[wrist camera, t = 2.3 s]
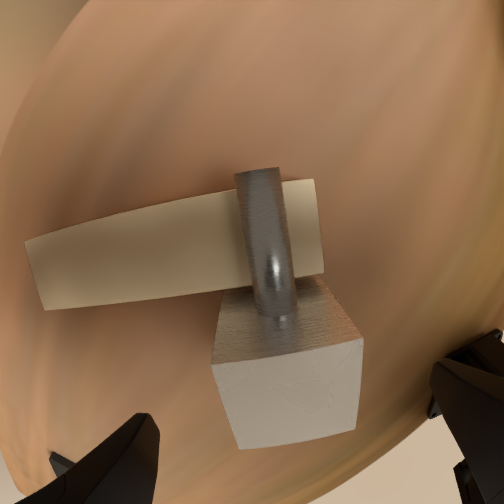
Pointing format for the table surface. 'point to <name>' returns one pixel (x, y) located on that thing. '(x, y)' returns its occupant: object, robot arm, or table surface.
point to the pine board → (165, 250)
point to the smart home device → (60, 464)
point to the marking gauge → (282, 336)
